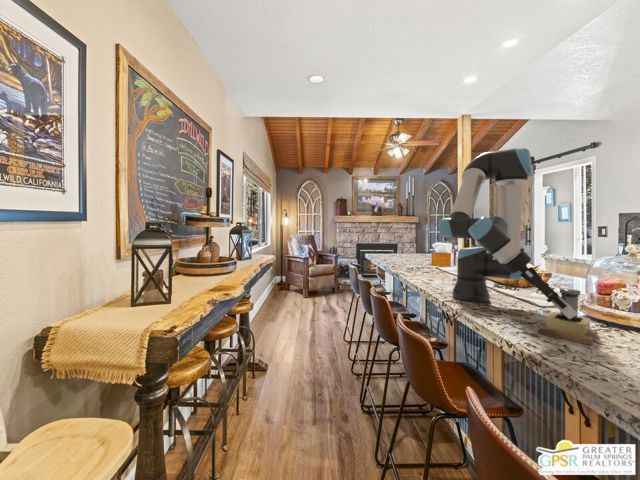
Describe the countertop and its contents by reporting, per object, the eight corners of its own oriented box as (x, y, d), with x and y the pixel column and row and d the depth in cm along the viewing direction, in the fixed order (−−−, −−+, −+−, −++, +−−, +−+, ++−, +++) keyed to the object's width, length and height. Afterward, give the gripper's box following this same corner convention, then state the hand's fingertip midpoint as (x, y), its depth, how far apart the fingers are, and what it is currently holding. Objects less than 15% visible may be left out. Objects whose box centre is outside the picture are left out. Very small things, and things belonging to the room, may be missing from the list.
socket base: (548, 325, 102) (548, 320, 102) (596, 335, 93) (597, 330, 93) (538, 333, 94) (539, 328, 94) (590, 345, 85) (591, 339, 85)
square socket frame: (552, 322, 100) (553, 312, 100) (589, 330, 93) (590, 318, 93) (546, 329, 94) (546, 317, 94) (585, 337, 87) (585, 324, 87)
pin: (559, 325, 97) (561, 287, 97) (579, 329, 94) (581, 290, 93) (556, 329, 94) (558, 289, 93) (576, 333, 90) (578, 292, 90)
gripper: (498, 261, 112) (547, 308, 106) (504, 269, 90) (566, 329, 84) (516, 247, 109) (567, 294, 103) (527, 252, 87) (593, 313, 81)
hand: (567, 310), depth 94 cm, fingers open, 13 cm apart
